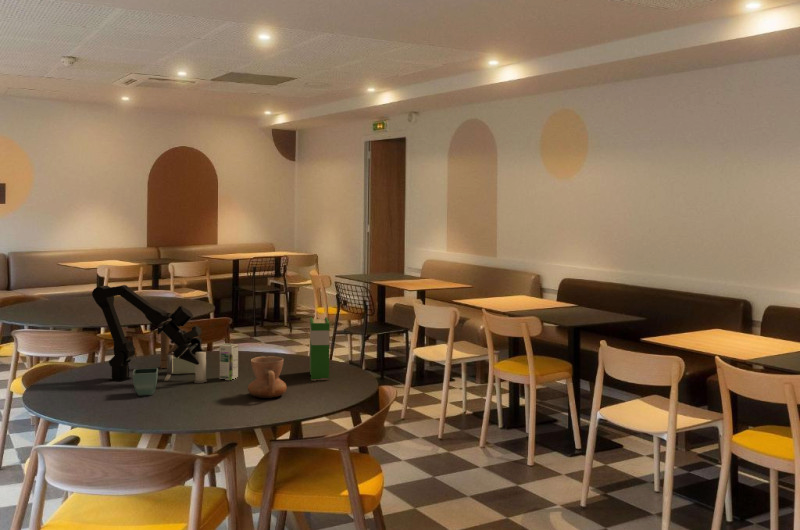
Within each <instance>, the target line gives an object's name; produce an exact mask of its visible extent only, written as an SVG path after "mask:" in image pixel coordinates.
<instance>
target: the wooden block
mask: <svg viewBox="0 0 800 530" xmlns="http://www.w3.org/2000/svg"><path fill="white" fill-rule="evenodd" d="M176 348H177V346H176V345H175V344H174V345H173V346H172V347H171V348H170V339H169V338H168V337H167V336H166V335H165V333H164V332H162V333H161V334H160V360H159V363H160V364H159V365H160V366H159V367H160V369H161V370H163V369H162V368H166V369H167V355H170V353H173V352H174V351H175V350H176ZM180 356H181V355H180ZM180 356H179V357H180Z"/></svg>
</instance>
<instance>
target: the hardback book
mask: <svg viewBox="0 0 800 530" xmlns="http://www.w3.org/2000/svg"><path fill="white" fill-rule="evenodd" d="M309 375H311V377H310V380H311V379H321V378H329V379H330V321H329V319H328V317H327V316H326V317H324V318H313V317H311V316H310V317H309Z"/></svg>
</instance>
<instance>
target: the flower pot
mask: <svg viewBox="0 0 800 530" xmlns="http://www.w3.org/2000/svg"><path fill="white" fill-rule="evenodd" d="M131 375H132V380H133V381H132V383H133V388H134V390H135V392H136V394H137V395H138V396H152V395H154V393H155V391H156V388H157V382H158V377H159V376H158V375H159V368H157V367H152V368H148V367H147V368H135V369H133V371H132V374H131Z"/></svg>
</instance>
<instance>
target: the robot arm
mask: <svg viewBox="0 0 800 530" xmlns="http://www.w3.org/2000/svg"><path fill="white" fill-rule="evenodd" d="M91 296H92V298H93V300H94V302H95V304H96V305H97V306H98V307H99V308H100V309H101V311H102V315H103V316H104V319H105V321H106V323H107V327H108V329H109V332H110V336H111V338H112V340H113V349H112V351H113V354H114V355H113V356H112V357H111V358H110V359H109V360H108V364H109V366H110V367H111V377H109V378H108V380H109V381H110V380H111V381H115V380H116V381H117V382H123V381H126V380H129V379H133V376H130V366H129V363H131V360H132V359H133V358H134V356H135V354H136V351H135V350H136V347H135V345H134V341H133V340H128V339H127V338H126V336H125V333H124V330H123V328H122V325H121V322H120V320H119V317H118V314H117V312H116V309H115V305H114V303H115V297H117V296H120V297H121V298H123V299H124V300H125V301H127V302H128V303H129V304H131V305H132V306H133V307H135V308H136V309H137V310H139V311H140V312H142V314H143V315H144V316H145V318H146V319H147V320H148V322H149V323H150V324H151V325H153V326H158V327H157V333H156V334H157V335H161V333H162V332H164V333H165V335H166V336H167V337H168V338H169V341H170V343H171V344H174V345H176V346H177V348H176V350H175V351H174V352H172V353H173V354H172V355H173V357H176V358H178V357H179V356H180V355H181V356H180V357H179V359H183V360H186V361H188V362H191V363H194V364H196V365H198V364H199V362H198V360H197V359H196V357H195V353H196V352H204V350H203V348H202V343H203V342H202V341H203V339H202V338H201V337H200V336H201V335H202V334H203V333H202V328H200V327H199V326H197V325H195V326H193V327H191V330H189V331H187V330H182V329H181V328H180V327H185V326H186V324H187V323H188V322H190V320H191V319H192V318H193V317H194V315H193V312H191V310H189V309H187V308H186V307H185V306H184V307H183V305H179V306H178V307H177V308H176V310H175V311H174V312H172V313H171V312H167V311H166V310H165V309H163V308H161V307H159V306H156V305H154V304H151V303H150V302H149V301H147V300H146V299H144V298H143V297H142V296H140V295H139V294H137V293H136V292H135V291H134V290H132V289H131V288H130V287H129V286H128V285H126V284H123V285H117V286H109V285H102V286H97V287H95V288H94V289H93V290H92V292H91ZM162 324H163V325H162ZM159 325H162V326H159ZM207 359H208V358H207V356H206V360H207Z"/></svg>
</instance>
